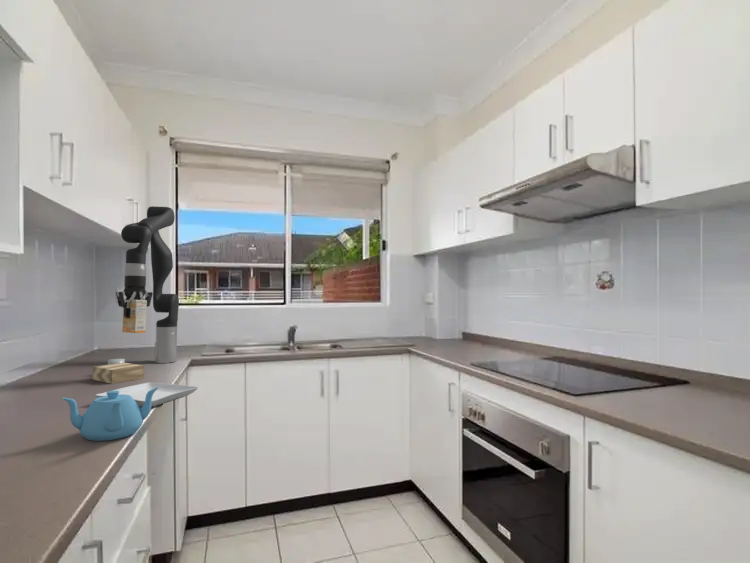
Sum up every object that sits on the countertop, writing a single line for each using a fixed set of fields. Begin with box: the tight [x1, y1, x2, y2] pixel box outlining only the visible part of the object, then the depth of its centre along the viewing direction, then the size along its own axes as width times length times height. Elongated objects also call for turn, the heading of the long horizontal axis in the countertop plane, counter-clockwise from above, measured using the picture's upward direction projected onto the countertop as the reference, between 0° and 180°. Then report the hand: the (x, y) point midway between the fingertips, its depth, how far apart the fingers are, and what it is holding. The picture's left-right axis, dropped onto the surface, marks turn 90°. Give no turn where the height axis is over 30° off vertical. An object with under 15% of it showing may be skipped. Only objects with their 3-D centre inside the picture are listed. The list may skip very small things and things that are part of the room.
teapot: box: [61, 387, 159, 442], centre depth 103 cm, size 15×15×10 cm
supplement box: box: [121, 299, 148, 334], centre depth 171 cm, size 8×5×13 cm, turn 63°
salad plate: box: [95, 382, 198, 408], centre depth 136 cm, size 21×21×3 cm
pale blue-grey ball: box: [107, 358, 126, 365], centre depth 177 cm, size 6×6×6 cm
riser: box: [91, 362, 145, 385], centre depth 167 cm, size 14×12×5 cm
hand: (134, 317), depth 171 cm, fingers closed on supplement box, 5 cm apart
